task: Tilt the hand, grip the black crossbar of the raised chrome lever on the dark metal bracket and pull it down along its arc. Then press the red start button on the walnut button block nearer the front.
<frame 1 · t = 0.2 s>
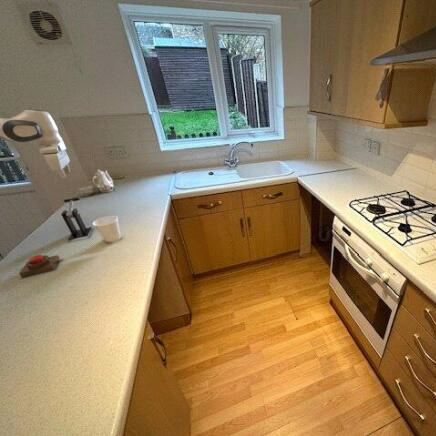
hand: (66, 175, 119), 28 cm above the worktop, tool pointing down, fingers open, 8 cm apart
lever: (71, 207, 119), point 14 cm above the worktop, hinge at 25.0°
button: (36, 259, 98), point 4 cm above the worktop, slide at 0.1 cm
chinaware: (103, 190, 179), on the worktop
bracket: (81, 235, 123), on the worktop
cup: (114, 240, 118), on the worktop
button block: (42, 268, 100), on the worktop
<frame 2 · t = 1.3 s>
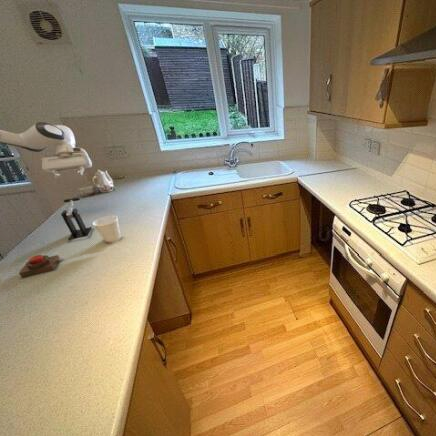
hand: (69, 176, 126), 26 cm above the worktop, tool tilted 45°, fingers open, 8 cm apart
nothing on the worktop moved.
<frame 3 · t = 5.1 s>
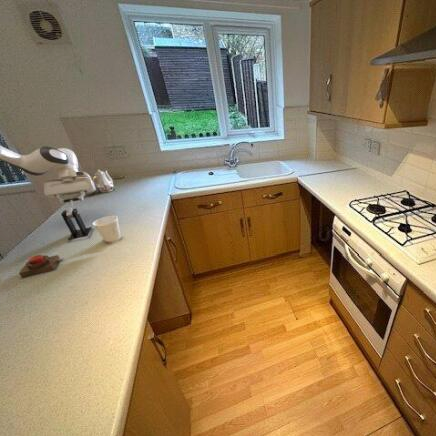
hand: (72, 201, 122), 16 cm above the worktop, tool tilted 45°, fingers closed on lever, 6 cm apart
lever: (71, 207, 119), point 14 cm above the worktop, hinge at 25.1°, touching gripper
everything else where it was.
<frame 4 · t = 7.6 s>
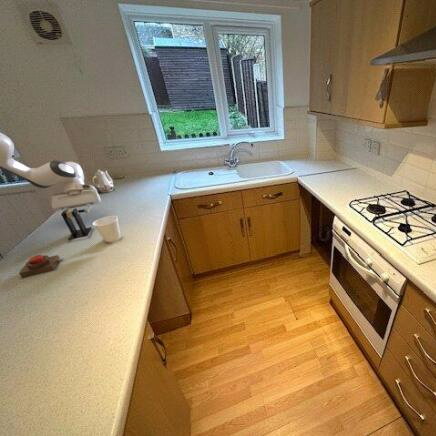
hand: (78, 213, 126), 8 cm above the worktop, tool tilted 45°, fingers closed on lever, 6 cm apart
lever: (74, 213, 121), point 11 cm above the worktop, hinge at -15.7°, touching gripper
everything else where it was.
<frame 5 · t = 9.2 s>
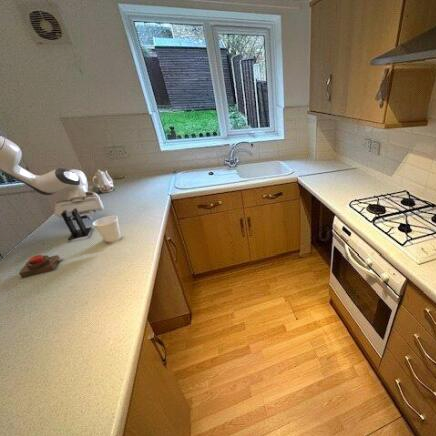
hand: (81, 220, 127), 5 cm above the worktop, tool tilted 45°, fingers closed on lever, 6 cm apart
lever: (75, 216, 121), point 9 cm above the worktop, hinge at -34.7°, touching gripper
everything else where it was.
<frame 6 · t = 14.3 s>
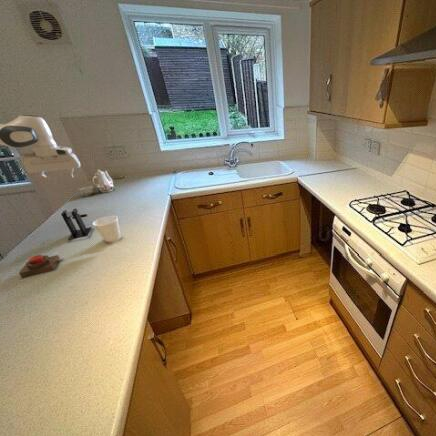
hand: (60, 178, 121), 26 cm above the worktop, tool pointing down, fingers open, 8 cm apart
lever: (75, 215, 121), point 10 cm above the worktop, hinge at -30.6°
everything else where it was.
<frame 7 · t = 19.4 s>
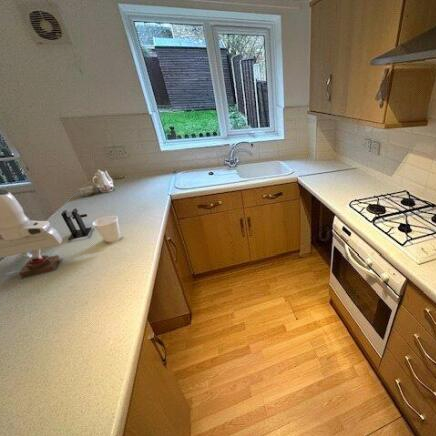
hand: (36, 259, 97), 5 cm above the worktop, tool pointing down, fingers closed, pressing on button
button: (37, 260, 98), point 4 cm above the worktop, slide at -0.6 cm, touching gripper
everything else where it was.
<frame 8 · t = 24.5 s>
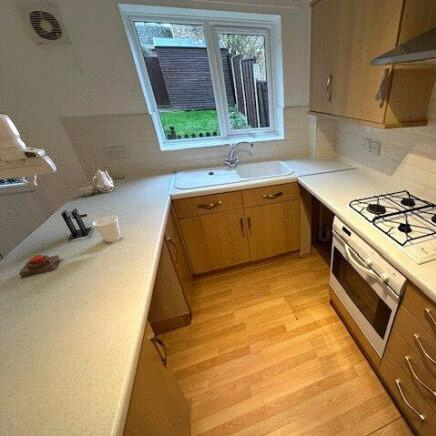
hand: (32, 186, 103), 29 cm above the worktop, tool pointing down, fingers closed
button: (36, 259, 98), point 4 cm above the worktop, slide at 0.1 cm
everything else where it was.
at the end: lever at -31° (first picture: +25°); button pushed in 0.9 cm at the most during the clip, back to where it started at the end; button slide at 0.1 cm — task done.
